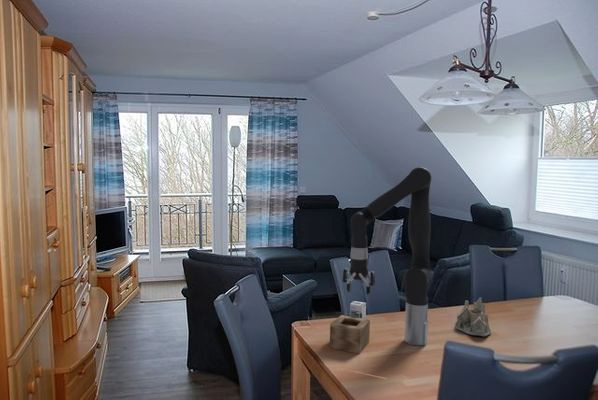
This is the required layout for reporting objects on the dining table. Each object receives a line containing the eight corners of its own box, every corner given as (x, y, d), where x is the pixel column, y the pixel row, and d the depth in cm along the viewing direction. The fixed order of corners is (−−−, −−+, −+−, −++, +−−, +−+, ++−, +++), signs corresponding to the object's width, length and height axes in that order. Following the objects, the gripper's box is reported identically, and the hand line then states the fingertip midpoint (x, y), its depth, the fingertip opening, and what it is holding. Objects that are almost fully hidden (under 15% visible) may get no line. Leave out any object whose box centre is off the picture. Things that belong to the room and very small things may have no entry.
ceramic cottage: (456, 323, 219) (458, 292, 218) (493, 329, 211) (494, 298, 210) (449, 333, 206) (451, 301, 205) (488, 340, 197) (489, 307, 196)
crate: (369, 342, 193) (369, 319, 192) (359, 353, 181) (360, 329, 180) (340, 337, 198) (341, 315, 198) (329, 347, 187) (330, 324, 186)
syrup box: (348, 335, 201) (349, 303, 200) (353, 331, 206) (354, 300, 205) (361, 337, 198) (361, 305, 197) (365, 333, 203) (366, 302, 202)
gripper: (377, 257, 200) (376, 293, 201) (346, 254, 206) (346, 289, 207) (372, 260, 193) (371, 297, 194) (341, 257, 199) (340, 293, 200)
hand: (358, 293), depth 200 cm, fingers open, 8 cm apart
